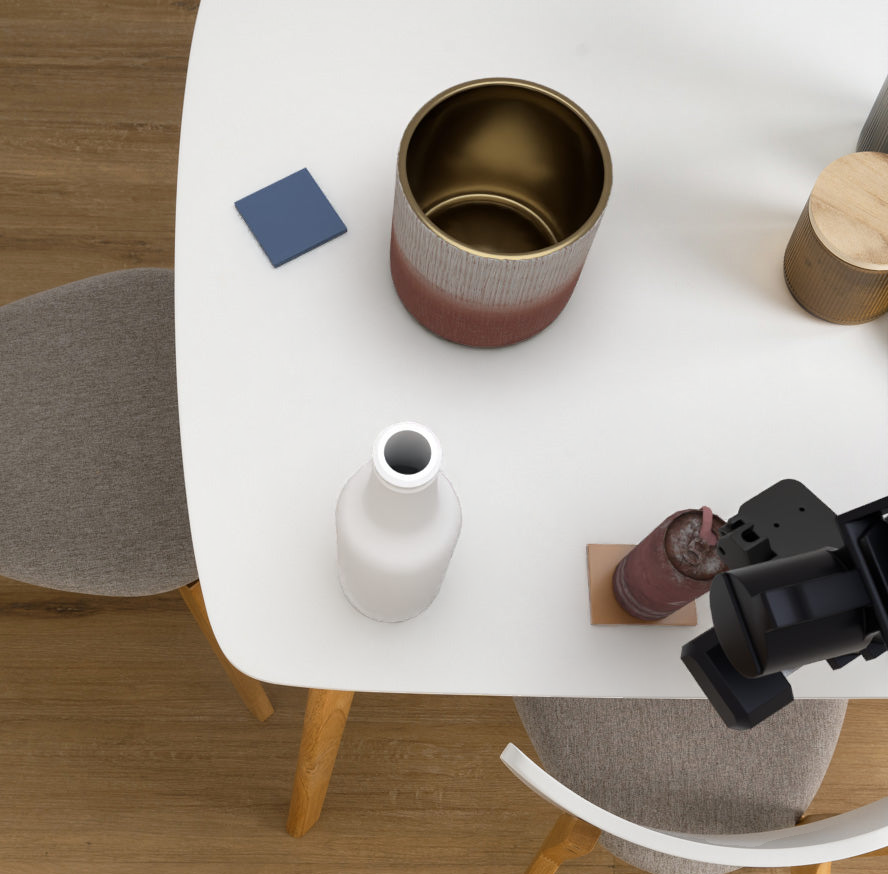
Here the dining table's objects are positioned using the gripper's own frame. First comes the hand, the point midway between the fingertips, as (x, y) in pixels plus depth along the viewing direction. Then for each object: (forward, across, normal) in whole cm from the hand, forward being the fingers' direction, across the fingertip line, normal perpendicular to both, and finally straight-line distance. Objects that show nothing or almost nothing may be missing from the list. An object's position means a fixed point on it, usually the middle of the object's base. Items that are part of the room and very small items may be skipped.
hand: (773, 636), depth 70 cm
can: (+12, +1, -8) cm, 15 cm away
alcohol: (+13, +20, -20) cm, 31 cm away
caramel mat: (+13, +2, -8) cm, 15 cm away
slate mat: (+13, +10, -55) cm, 58 cm away
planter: (+13, -3, -42) cm, 44 cm away
